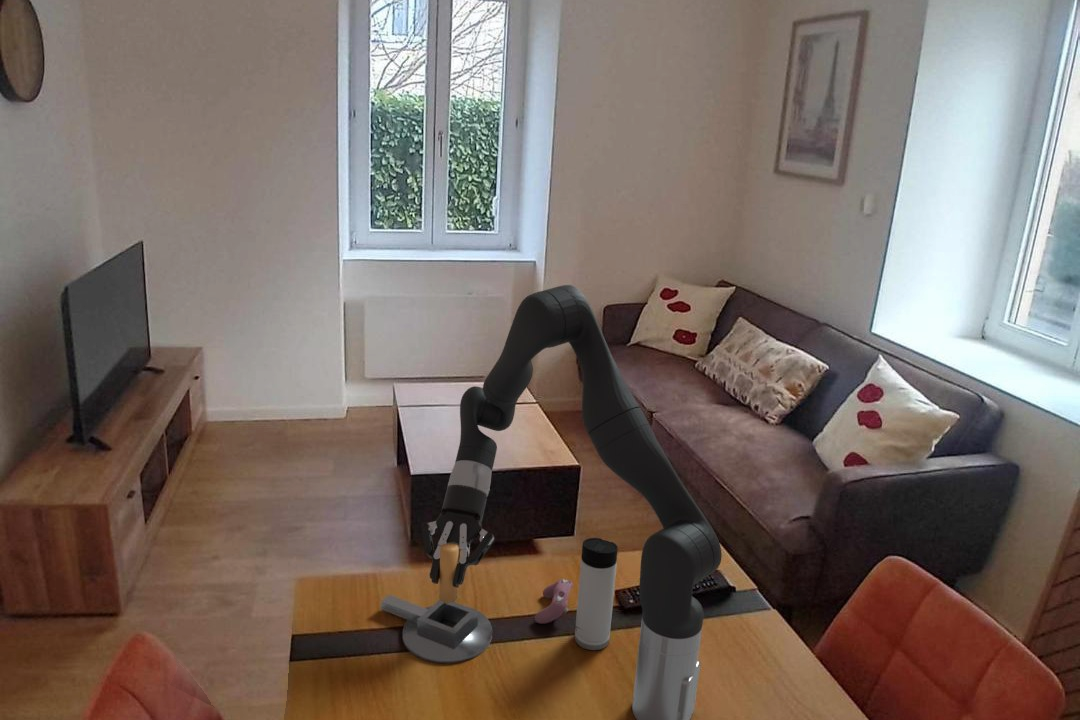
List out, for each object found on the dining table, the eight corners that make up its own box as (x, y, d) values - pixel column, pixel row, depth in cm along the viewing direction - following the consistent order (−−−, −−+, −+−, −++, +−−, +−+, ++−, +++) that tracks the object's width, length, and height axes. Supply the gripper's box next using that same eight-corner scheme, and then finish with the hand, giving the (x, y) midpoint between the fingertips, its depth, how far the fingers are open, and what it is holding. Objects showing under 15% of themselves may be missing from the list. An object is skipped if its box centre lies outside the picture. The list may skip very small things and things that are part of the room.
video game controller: (552, 634, 152) (572, 608, 150) (531, 621, 152) (550, 595, 150) (561, 604, 161) (579, 578, 159) (541, 592, 161) (559, 566, 159)
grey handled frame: (508, 625, 151) (509, 606, 150) (461, 675, 138) (462, 655, 136) (410, 588, 160) (410, 571, 159) (357, 632, 147) (357, 613, 146)
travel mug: (567, 644, 147) (575, 545, 141) (583, 625, 153) (591, 529, 146) (599, 656, 144) (609, 556, 138) (614, 636, 150) (624, 539, 144)
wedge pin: (460, 595, 146) (462, 546, 143) (450, 604, 144) (452, 554, 140) (445, 590, 148) (446, 541, 144) (435, 599, 145) (436, 549, 142)
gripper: (426, 477, 148) (401, 572, 140) (502, 489, 145) (480, 587, 138) (435, 491, 155) (411, 582, 147) (508, 502, 152) (487, 596, 144)
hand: (445, 584), depth 142 cm, fingers closed on wedge pin, 3 cm apart
